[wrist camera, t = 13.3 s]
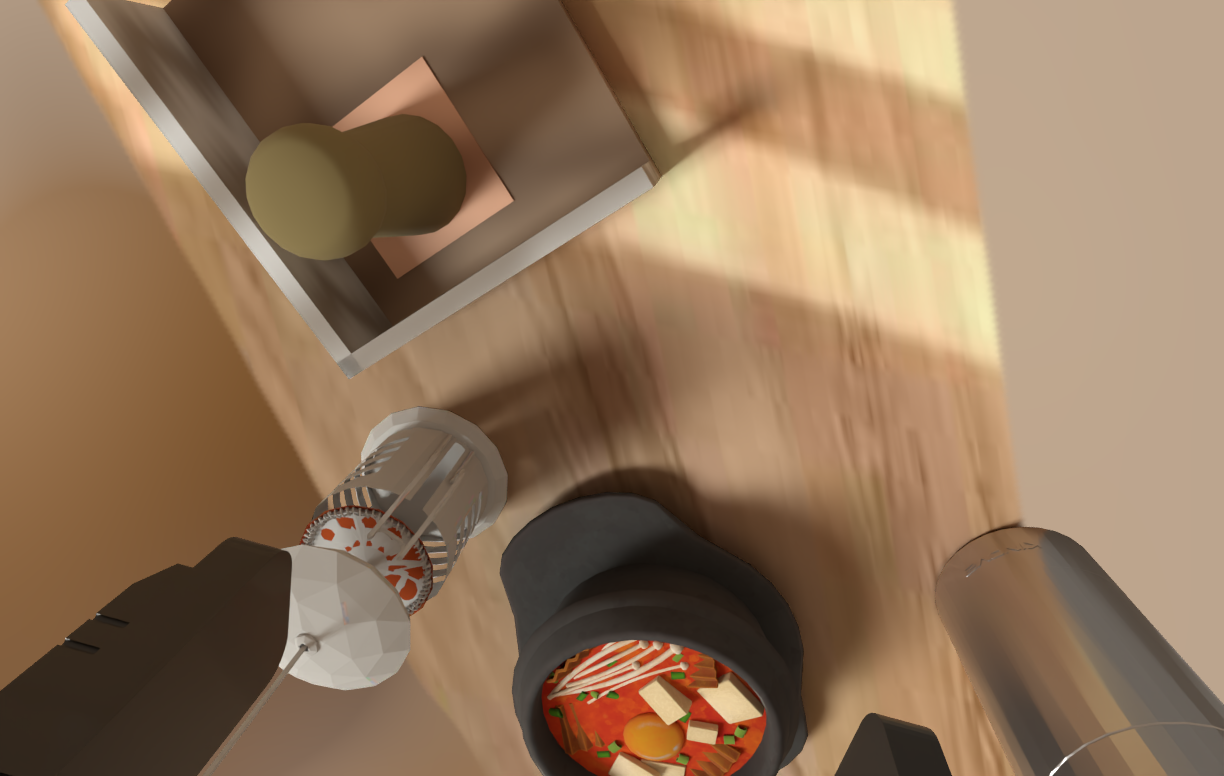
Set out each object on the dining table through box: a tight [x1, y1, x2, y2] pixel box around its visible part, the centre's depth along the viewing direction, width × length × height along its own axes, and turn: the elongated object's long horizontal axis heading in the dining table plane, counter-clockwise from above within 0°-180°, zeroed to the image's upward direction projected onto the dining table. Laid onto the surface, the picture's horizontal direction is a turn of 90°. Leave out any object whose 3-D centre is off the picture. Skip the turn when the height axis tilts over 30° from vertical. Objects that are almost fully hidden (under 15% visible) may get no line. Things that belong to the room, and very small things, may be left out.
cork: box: [245, 114, 467, 261], centre depth 31 cm, size 6×6×11 cm
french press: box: [203, 407, 508, 776], centre depth 32 cm, size 10×12×25 cm
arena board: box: [65, 0, 662, 379], centre depth 33 cm, size 20×18×6 cm
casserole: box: [500, 492, 808, 776], centre depth 43 cm, size 25×19×8 cm
